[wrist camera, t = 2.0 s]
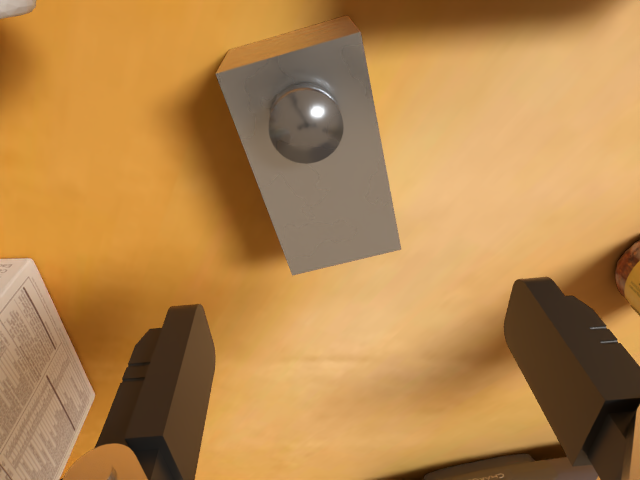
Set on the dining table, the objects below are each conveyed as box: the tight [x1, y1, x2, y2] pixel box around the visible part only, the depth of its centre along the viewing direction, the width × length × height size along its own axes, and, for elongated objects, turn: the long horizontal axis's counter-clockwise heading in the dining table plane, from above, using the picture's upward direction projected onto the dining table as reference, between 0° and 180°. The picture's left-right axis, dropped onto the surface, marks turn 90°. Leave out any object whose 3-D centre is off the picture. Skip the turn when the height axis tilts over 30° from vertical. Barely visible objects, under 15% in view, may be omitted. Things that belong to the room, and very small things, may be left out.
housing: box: [216, 15, 401, 275], centre depth 20 cm, size 10×6×6 cm, turn 14°
